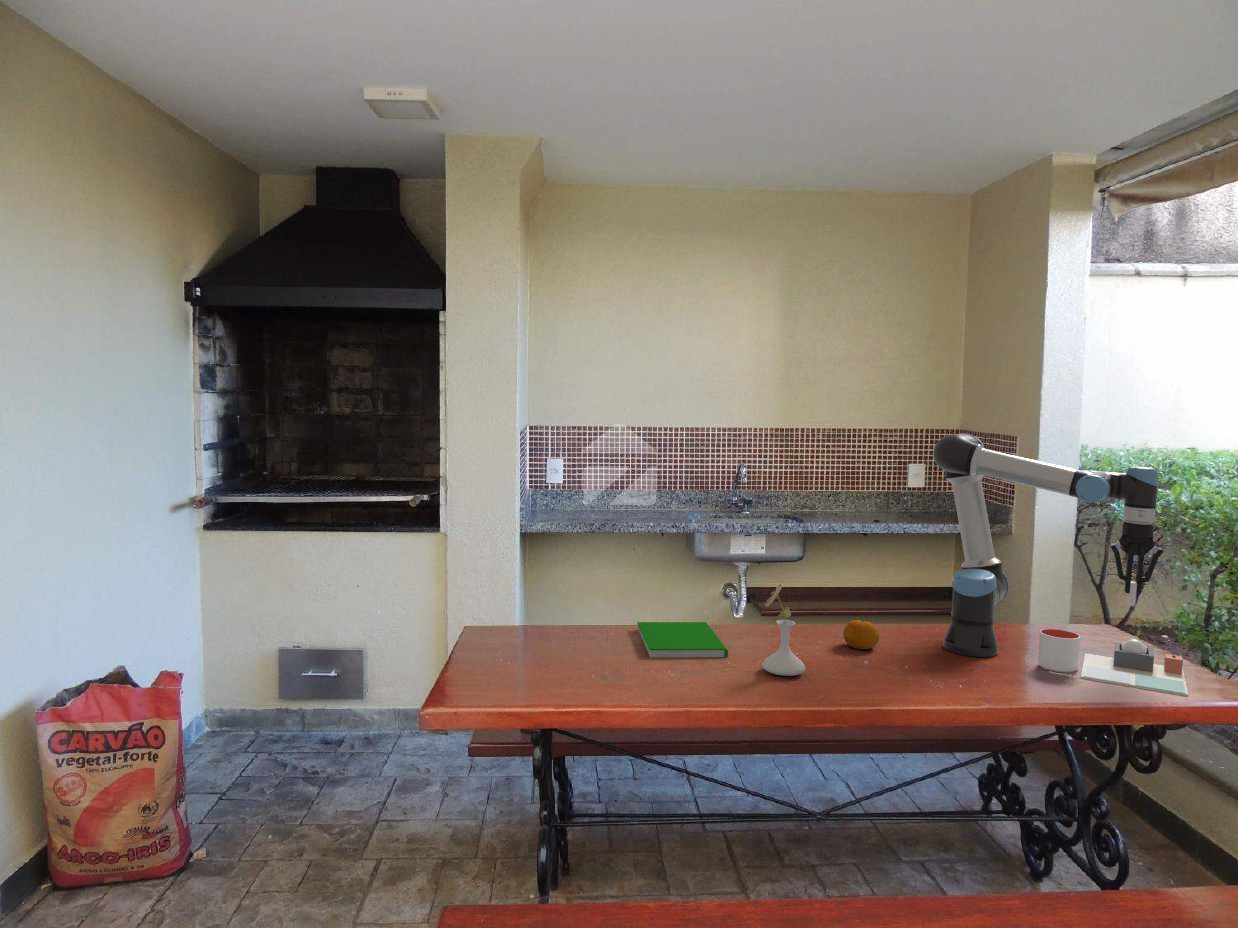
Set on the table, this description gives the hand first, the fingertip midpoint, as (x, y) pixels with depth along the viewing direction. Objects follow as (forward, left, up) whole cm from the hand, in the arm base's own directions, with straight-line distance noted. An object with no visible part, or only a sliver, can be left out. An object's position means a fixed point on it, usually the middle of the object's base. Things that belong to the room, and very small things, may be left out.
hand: (1131, 604), depth 238 cm
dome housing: (+1, +1, -17) cm, 17 cm away
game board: (+1, -7, -18) cm, 19 cm away
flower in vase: (-79, -64, -18) cm, 103 cm away
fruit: (-68, -27, -18) cm, 75 cm away
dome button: (+1, +1, -16) cm, 17 cm away
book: (-114, -55, -19) cm, 128 cm away
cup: (-17, -14, -18) cm, 28 cm away
